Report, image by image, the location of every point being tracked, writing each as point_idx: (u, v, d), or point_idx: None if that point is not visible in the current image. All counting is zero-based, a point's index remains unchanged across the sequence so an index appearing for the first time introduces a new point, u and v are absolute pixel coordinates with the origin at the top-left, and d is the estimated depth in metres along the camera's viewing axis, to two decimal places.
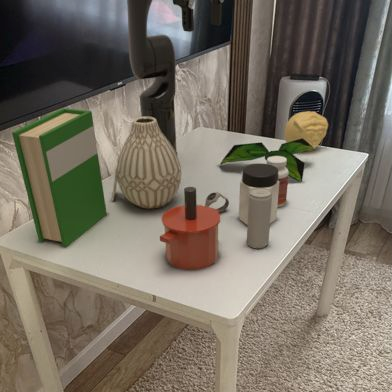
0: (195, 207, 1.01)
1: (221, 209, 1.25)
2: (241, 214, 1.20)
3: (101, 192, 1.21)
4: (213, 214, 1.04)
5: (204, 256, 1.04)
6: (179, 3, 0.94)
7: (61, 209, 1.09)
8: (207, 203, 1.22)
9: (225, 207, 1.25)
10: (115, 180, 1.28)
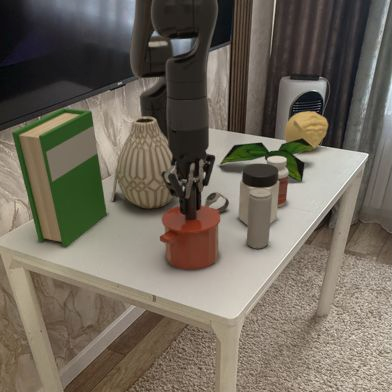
0: (195, 207, 1.01)
1: (221, 209, 1.25)
2: (241, 214, 1.20)
3: (101, 192, 1.21)
4: (213, 214, 1.04)
5: (204, 256, 1.04)
6: (176, 196, 0.97)
7: (61, 209, 1.09)
8: (207, 203, 1.22)
9: (225, 207, 1.25)
10: (115, 180, 1.28)
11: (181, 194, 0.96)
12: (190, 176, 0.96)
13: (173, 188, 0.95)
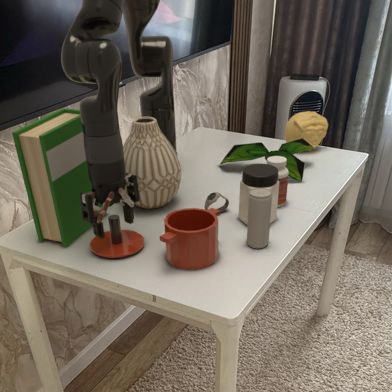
0: (119, 233, 1.11)
1: (221, 209, 1.25)
2: (241, 214, 1.20)
3: None
4: (138, 239, 1.13)
5: (204, 256, 1.04)
6: (88, 221, 1.04)
7: (60, 209, 1.09)
8: (207, 203, 1.22)
9: (225, 207, 1.25)
10: None
11: (92, 219, 1.03)
12: (106, 203, 1.04)
13: (86, 209, 1.02)
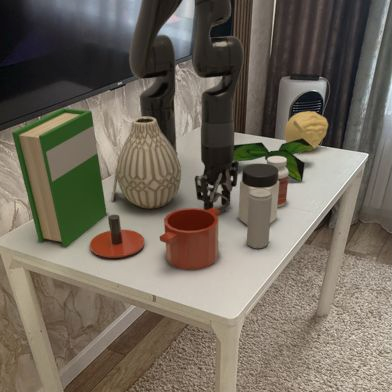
0: (119, 233, 1.11)
1: (221, 209, 1.25)
2: (241, 214, 1.20)
3: (101, 192, 1.21)
4: (138, 239, 1.13)
5: (204, 256, 1.04)
6: (202, 200, 1.18)
7: (60, 209, 1.09)
8: None
9: (225, 207, 1.25)
10: (115, 180, 1.28)
11: (206, 198, 1.18)
12: (217, 183, 1.18)
13: (201, 191, 1.16)
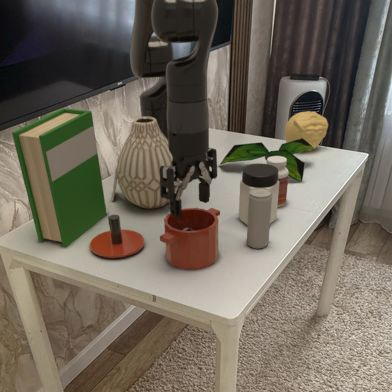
0: (119, 233, 1.11)
1: None
2: (241, 214, 1.20)
3: (101, 192, 1.21)
4: (138, 239, 1.13)
5: (204, 256, 1.04)
6: (167, 198, 0.95)
7: (60, 209, 1.09)
8: None
9: None
10: (115, 180, 1.28)
11: (172, 196, 0.95)
12: (187, 178, 0.95)
13: (167, 185, 0.93)
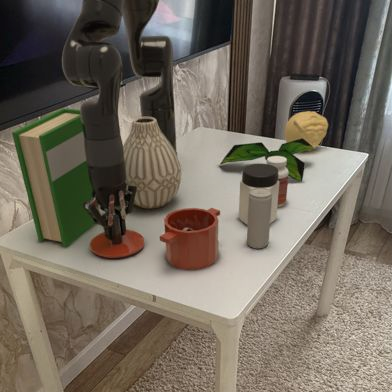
0: (119, 233, 1.11)
1: None
2: (241, 214, 1.20)
3: None
4: (138, 239, 1.13)
5: (204, 256, 1.04)
6: (99, 224, 1.06)
7: (60, 209, 1.09)
8: None
9: None
10: None
11: (103, 223, 1.06)
12: (110, 206, 1.05)
13: (94, 217, 1.04)
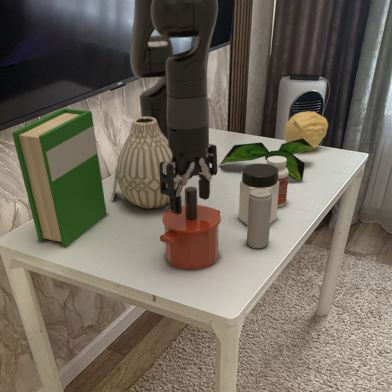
0: (196, 207, 1.01)
1: None
2: (241, 214, 1.20)
3: (101, 192, 1.21)
4: (214, 214, 1.04)
5: (204, 256, 1.04)
6: (166, 194, 0.95)
7: (60, 209, 1.09)
8: None
9: None
10: (115, 180, 1.28)
11: (172, 192, 0.94)
12: (187, 174, 0.95)
13: (167, 181, 0.93)
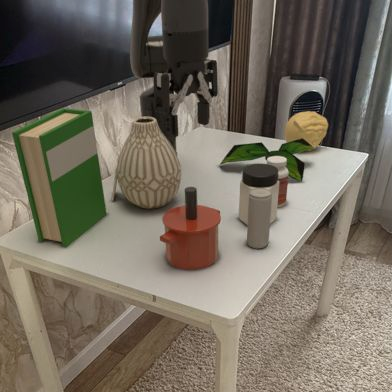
0: (196, 207, 1.01)
1: None
2: (241, 214, 1.20)
3: (101, 192, 1.21)
4: (214, 214, 1.04)
5: (204, 256, 1.04)
6: (161, 111, 0.85)
7: (60, 209, 1.09)
8: None
9: None
10: (115, 180, 1.28)
11: (167, 108, 0.85)
12: (184, 89, 0.85)
13: (161, 94, 0.83)
